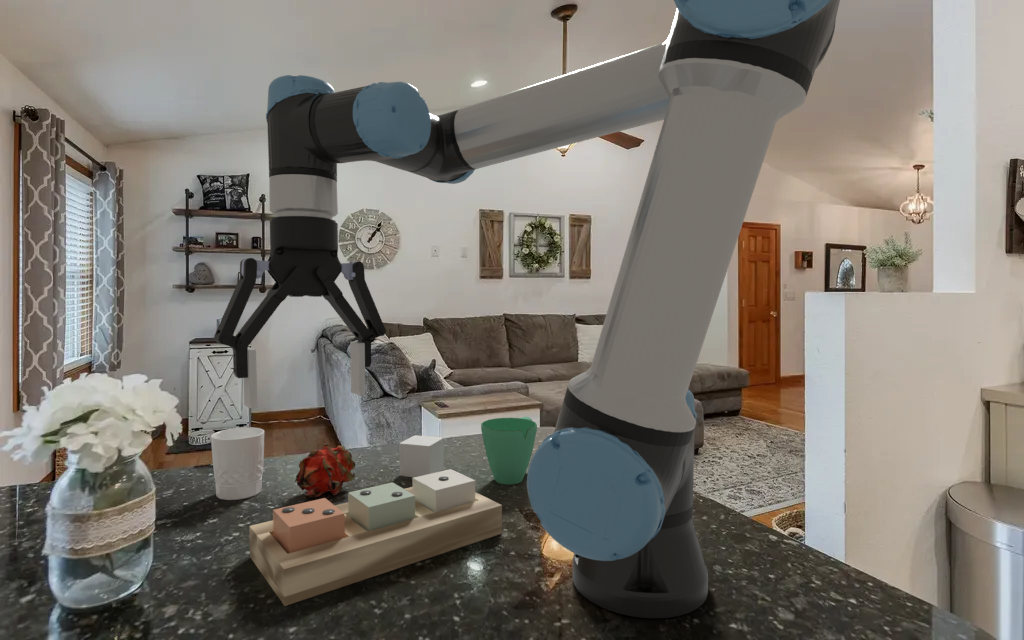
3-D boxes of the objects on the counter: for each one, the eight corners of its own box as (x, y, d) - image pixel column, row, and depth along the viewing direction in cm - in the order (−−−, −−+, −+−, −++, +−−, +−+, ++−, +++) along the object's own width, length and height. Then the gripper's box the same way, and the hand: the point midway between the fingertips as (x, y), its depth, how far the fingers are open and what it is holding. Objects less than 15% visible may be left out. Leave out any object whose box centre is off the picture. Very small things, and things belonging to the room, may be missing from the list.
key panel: (501, 533, 78) (501, 505, 78) (284, 606, 60) (283, 569, 60) (447, 503, 89) (447, 478, 89) (250, 557, 71) (249, 525, 71)
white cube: (414, 466, 108) (414, 435, 108) (443, 469, 107) (443, 437, 106) (399, 476, 103) (399, 443, 102) (429, 479, 101) (429, 446, 101)
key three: (344, 546, 68) (344, 512, 68) (290, 561, 64) (289, 525, 64) (325, 528, 73) (324, 496, 73) (273, 542, 69) (272, 508, 69)
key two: (415, 525, 74) (415, 494, 74) (369, 539, 70) (368, 506, 70) (392, 510, 79) (392, 481, 79) (348, 522, 75) (348, 491, 75)
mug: (525, 492, 94) (525, 433, 94) (471, 485, 98) (471, 427, 97) (552, 467, 108) (552, 414, 107) (504, 461, 111) (504, 410, 111)
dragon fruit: (355, 490, 100) (307, 526, 89) (320, 458, 101) (269, 490, 90) (375, 456, 96) (328, 489, 86) (339, 424, 98) (288, 453, 87)
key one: (475, 508, 80) (475, 479, 80) (435, 519, 76) (435, 489, 76) (450, 495, 85) (450, 468, 85) (412, 505, 81) (412, 476, 81)
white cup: (201, 498, 91) (199, 436, 91) (239, 482, 99) (237, 425, 98) (239, 504, 89) (238, 441, 88) (276, 488, 96) (274, 429, 96)
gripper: (385, 227, 77) (386, 384, 78) (181, 212, 62) (186, 407, 64) (411, 222, 71) (413, 392, 73) (193, 204, 56) (199, 419, 58)
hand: (307, 399), depth 68 cm, fingers open, 12 cm apart
